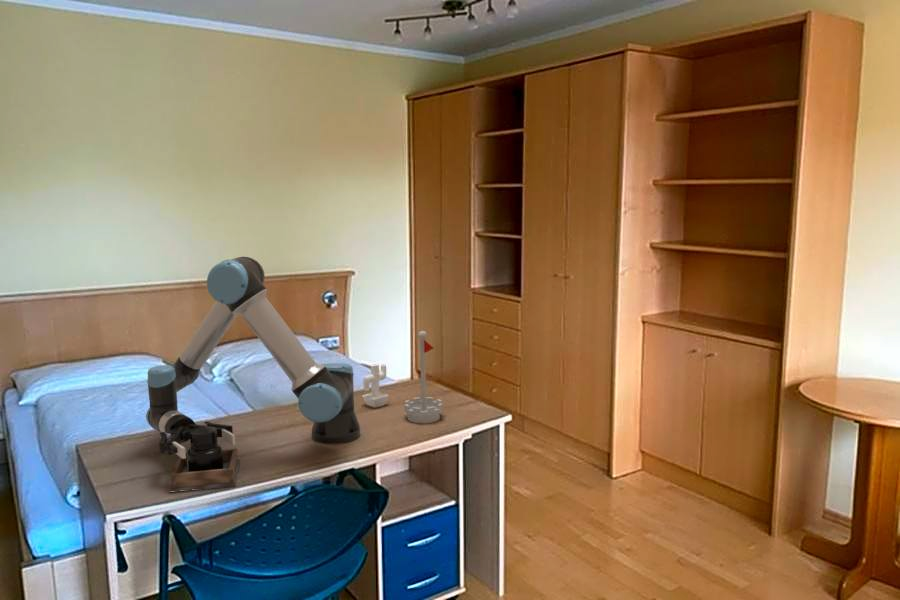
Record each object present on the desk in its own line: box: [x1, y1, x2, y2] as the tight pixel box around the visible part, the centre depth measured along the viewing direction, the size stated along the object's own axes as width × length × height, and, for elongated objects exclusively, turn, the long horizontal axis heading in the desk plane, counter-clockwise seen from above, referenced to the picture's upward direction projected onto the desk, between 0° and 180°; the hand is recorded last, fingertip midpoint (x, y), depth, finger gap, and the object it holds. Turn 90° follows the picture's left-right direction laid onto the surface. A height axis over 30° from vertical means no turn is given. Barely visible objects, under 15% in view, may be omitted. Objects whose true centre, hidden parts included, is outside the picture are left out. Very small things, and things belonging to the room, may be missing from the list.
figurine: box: [361, 363, 390, 408], centre depth 239 cm, size 7×9×15 cm
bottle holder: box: [169, 448, 241, 492], centre depth 178 cm, size 16×16×4 cm
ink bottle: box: [186, 426, 223, 472], centre depth 178 cm, size 10×9×12 cm
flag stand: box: [403, 330, 444, 424], centre depth 223 cm, size 13×13×30 cm
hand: (209, 446), depth 175 cm, fingers open, 13 cm apart
